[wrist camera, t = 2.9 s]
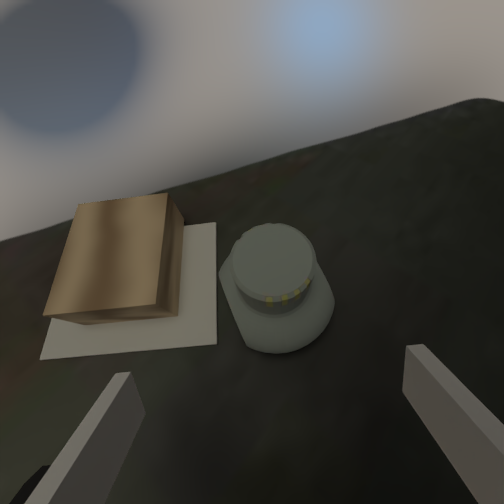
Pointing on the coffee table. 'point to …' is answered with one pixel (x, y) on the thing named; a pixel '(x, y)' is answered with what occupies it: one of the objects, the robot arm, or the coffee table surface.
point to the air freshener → (276, 289)
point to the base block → (120, 262)
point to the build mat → (159, 329)
